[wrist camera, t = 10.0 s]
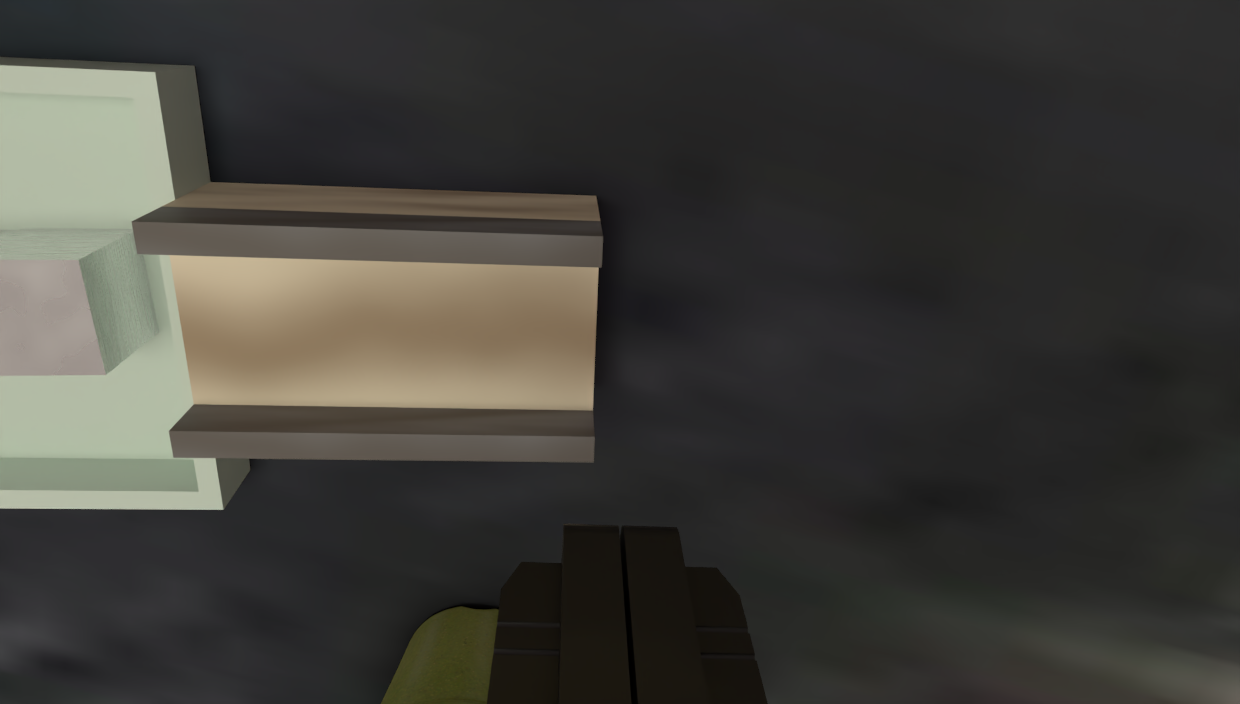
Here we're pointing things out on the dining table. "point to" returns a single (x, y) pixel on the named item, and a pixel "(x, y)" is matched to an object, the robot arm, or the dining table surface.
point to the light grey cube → (72, 301)
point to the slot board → (383, 322)
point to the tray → (110, 199)
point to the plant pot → (447, 660)
